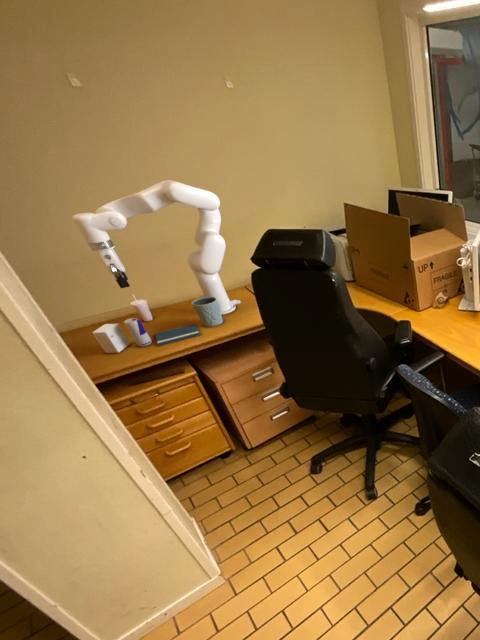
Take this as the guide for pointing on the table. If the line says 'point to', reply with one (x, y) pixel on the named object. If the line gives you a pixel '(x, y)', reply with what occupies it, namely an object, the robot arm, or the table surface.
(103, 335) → the small box
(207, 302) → the blue plant pot
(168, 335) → the book
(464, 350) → the table surface
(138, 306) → the smoothie
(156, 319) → the table surface
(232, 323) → the table surface
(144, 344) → the energy drink
